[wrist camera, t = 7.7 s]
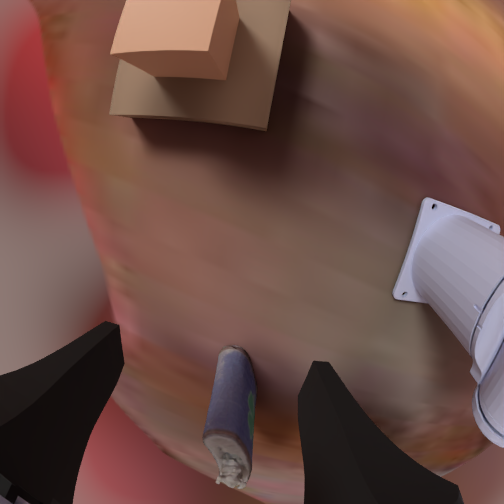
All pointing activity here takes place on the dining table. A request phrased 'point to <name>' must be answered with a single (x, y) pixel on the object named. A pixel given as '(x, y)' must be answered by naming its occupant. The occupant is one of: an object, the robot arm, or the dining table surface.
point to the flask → (232, 417)
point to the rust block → (178, 37)
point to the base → (211, 90)
